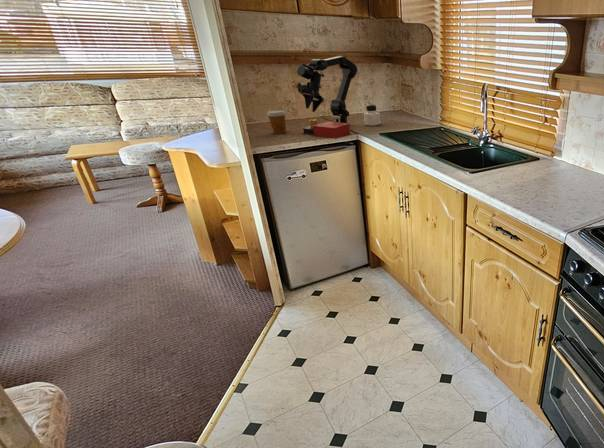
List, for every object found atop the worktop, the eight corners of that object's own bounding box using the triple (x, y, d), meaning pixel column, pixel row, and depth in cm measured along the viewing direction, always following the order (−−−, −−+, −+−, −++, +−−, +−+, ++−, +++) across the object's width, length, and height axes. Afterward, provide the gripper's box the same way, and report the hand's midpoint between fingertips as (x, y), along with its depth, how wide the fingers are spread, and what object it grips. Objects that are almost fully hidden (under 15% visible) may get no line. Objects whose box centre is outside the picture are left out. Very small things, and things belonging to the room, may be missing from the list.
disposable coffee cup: (292, 131, 235) (288, 110, 230) (283, 134, 226) (279, 113, 221) (276, 130, 235) (272, 109, 230) (267, 134, 227) (262, 112, 222)
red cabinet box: (329, 131, 236) (327, 123, 234) (350, 133, 231) (348, 125, 229) (314, 135, 225) (312, 127, 223) (335, 138, 221) (334, 129, 219)
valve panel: (314, 130, 239) (314, 124, 237) (326, 131, 236) (326, 125, 235) (302, 133, 230) (301, 127, 229) (314, 134, 228) (314, 129, 226)
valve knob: (313, 126, 234) (312, 118, 233) (319, 126, 233) (318, 119, 231) (308, 127, 231) (307, 119, 229) (314, 128, 229) (313, 120, 227)
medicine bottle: (380, 124, 257) (379, 104, 252) (372, 126, 251) (370, 106, 246) (372, 122, 260) (371, 103, 255) (364, 124, 255) (362, 105, 250)
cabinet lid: (328, 122, 235) (327, 114, 232) (349, 124, 230) (348, 116, 228) (312, 127, 223) (311, 118, 221) (334, 129, 219) (333, 120, 217)
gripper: (306, 84, 234) (302, 110, 235) (293, 74, 215) (288, 103, 217) (326, 87, 235) (321, 114, 236) (313, 78, 216) (309, 107, 217)
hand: (310, 110), depth 226 cm, fingers open, 9 cm apart
